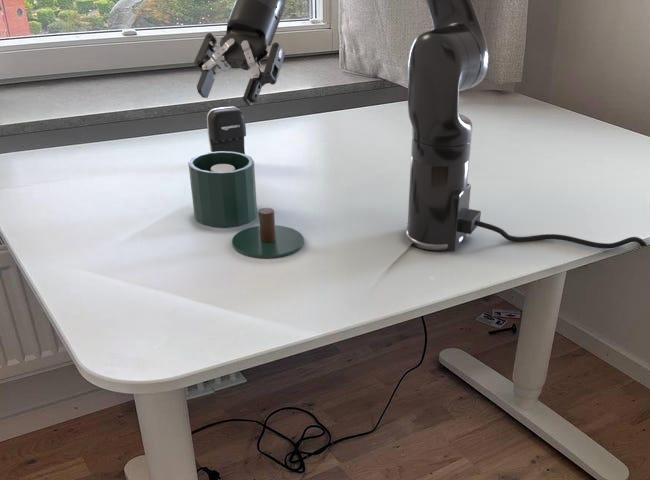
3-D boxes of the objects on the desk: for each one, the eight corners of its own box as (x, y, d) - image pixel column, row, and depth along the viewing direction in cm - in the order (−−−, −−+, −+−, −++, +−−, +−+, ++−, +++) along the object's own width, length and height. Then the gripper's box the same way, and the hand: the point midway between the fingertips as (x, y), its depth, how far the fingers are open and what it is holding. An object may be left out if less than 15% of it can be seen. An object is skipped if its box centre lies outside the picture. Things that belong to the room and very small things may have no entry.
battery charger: (217, 173, 151) (211, 114, 144) (210, 166, 153) (204, 108, 147) (250, 167, 154) (246, 109, 148) (243, 161, 157) (239, 104, 150)
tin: (268, 213, 136) (265, 157, 130) (235, 235, 128) (230, 177, 122) (218, 202, 139) (212, 147, 134) (182, 223, 131) (175, 166, 126)
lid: (316, 239, 128) (315, 204, 124) (281, 267, 119) (279, 231, 116) (257, 226, 131) (254, 191, 128) (218, 252, 123) (214, 216, 119)
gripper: (210, -9, 125) (175, 79, 123) (287, 0, 121) (252, 92, 119) (231, 20, 133) (198, 105, 130) (304, 30, 128) (272, 118, 126)
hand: (224, 99), depth 124 cm, fingers open, 8 cm apart
